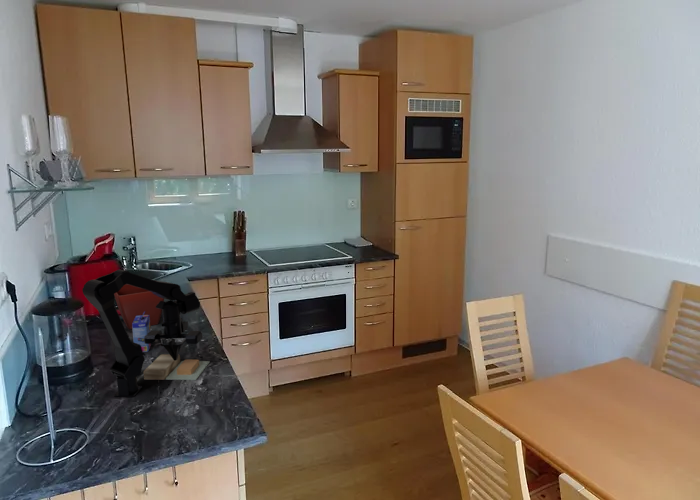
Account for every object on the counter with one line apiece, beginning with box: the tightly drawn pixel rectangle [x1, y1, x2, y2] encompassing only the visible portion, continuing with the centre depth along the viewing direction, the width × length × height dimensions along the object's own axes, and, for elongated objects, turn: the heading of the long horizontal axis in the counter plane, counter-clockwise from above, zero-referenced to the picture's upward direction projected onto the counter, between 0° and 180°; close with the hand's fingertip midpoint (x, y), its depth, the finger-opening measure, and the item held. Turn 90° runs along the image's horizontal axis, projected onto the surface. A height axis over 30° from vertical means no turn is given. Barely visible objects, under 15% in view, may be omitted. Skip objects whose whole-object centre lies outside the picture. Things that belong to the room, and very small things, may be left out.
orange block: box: [177, 359, 200, 375], centre depth 173 cm, size 8×5×2 cm, turn 178°
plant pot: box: [114, 284, 165, 330], centre depth 220 cm, size 19×19×17 cm
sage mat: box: [165, 360, 210, 381], centre depth 173 cm, size 14×10×1 cm
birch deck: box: [143, 353, 181, 381], centre depth 173 cm, size 14×7×3 cm, turn 177°
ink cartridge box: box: [132, 312, 152, 353], centre depth 192 cm, size 10×6×14 cm, turn 15°
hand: (175, 360), depth 172 cm, fingers closed
